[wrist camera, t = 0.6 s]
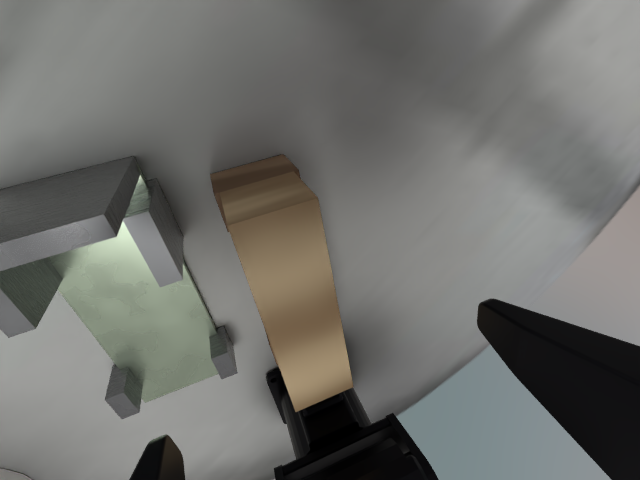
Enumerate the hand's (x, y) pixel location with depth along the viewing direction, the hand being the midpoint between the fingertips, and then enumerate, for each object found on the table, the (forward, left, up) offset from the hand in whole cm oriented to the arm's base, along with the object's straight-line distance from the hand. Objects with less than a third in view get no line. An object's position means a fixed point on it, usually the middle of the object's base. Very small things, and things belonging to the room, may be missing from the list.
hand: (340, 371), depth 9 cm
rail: (-4, 0, -9) cm, 10 cm away
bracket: (-4, +8, -12) cm, 15 cm away
